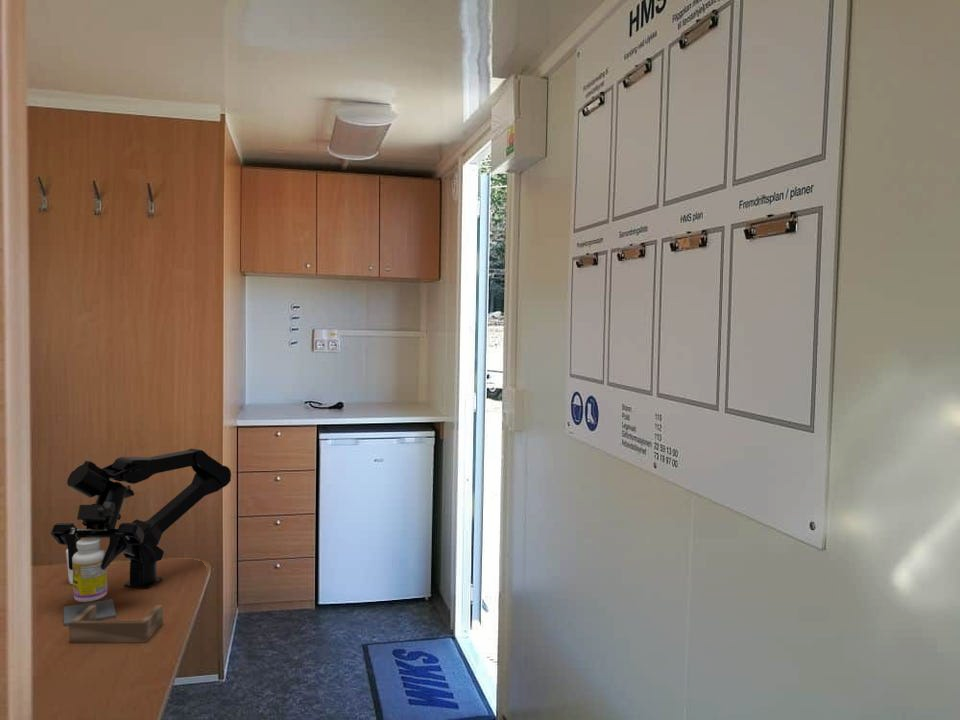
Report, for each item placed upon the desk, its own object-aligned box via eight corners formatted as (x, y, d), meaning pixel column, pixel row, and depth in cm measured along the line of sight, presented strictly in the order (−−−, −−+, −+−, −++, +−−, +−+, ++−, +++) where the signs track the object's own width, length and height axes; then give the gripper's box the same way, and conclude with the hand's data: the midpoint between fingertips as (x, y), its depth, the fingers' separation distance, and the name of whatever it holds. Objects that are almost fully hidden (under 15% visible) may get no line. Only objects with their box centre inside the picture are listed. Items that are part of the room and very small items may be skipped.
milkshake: (80, 586, 179) (80, 546, 178) (61, 584, 180) (61, 544, 179) (94, 579, 183) (93, 540, 182) (75, 577, 184) (75, 538, 184)
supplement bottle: (75, 593, 165) (73, 537, 164) (108, 589, 168) (106, 534, 167) (71, 604, 159) (69, 547, 158) (106, 600, 162) (104, 543, 161)
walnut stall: (90, 623, 158) (90, 605, 158) (162, 623, 159) (162, 605, 159) (69, 642, 149) (69, 623, 149) (145, 642, 150) (145, 623, 150)
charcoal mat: (63, 609, 165) (63, 606, 165) (112, 601, 170) (112, 599, 170) (64, 625, 157) (63, 623, 157) (116, 617, 162) (116, 614, 162)
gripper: (53, 488, 165) (27, 552, 155) (138, 488, 166) (117, 552, 156) (72, 512, 173) (48, 575, 163) (152, 512, 174) (134, 574, 164)
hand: (86, 569), depth 161 cm, fingers closed on supplement bottle, 7 cm apart
